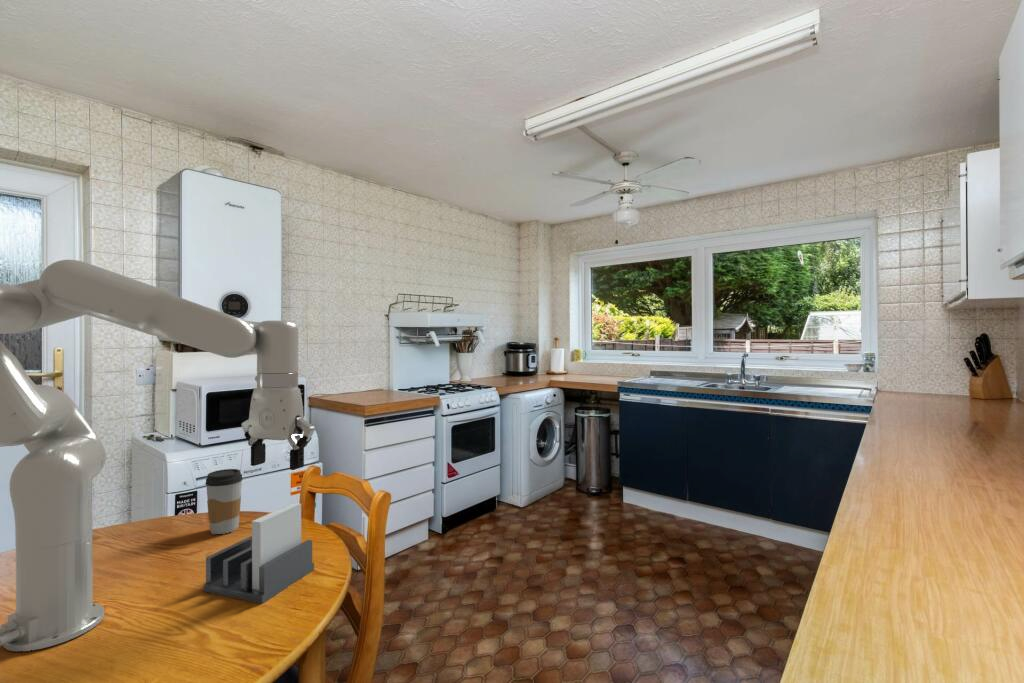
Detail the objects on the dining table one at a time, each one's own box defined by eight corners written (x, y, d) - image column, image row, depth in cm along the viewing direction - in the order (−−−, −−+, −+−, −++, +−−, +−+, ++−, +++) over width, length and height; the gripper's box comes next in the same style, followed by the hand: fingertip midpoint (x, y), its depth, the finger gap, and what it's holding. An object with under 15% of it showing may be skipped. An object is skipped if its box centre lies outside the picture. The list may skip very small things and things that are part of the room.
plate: (260, 590, 93) (260, 522, 92) (252, 588, 93) (251, 521, 93) (301, 564, 103) (301, 503, 103) (293, 563, 104) (293, 502, 104)
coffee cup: (250, 526, 129) (250, 469, 129) (223, 538, 121) (223, 478, 121) (225, 523, 131) (224, 467, 131) (197, 535, 123) (197, 475, 123)
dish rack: (262, 603, 91) (262, 568, 91) (203, 591, 95) (203, 558, 95) (314, 569, 104) (313, 539, 104) (260, 560, 108) (260, 531, 108)
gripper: (228, 381, 97) (228, 467, 97) (299, 384, 92) (298, 474, 92) (258, 379, 104) (258, 458, 104) (325, 381, 99) (325, 465, 99)
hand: (277, 466), depth 98 cm, fingers open, 9 cm apart
